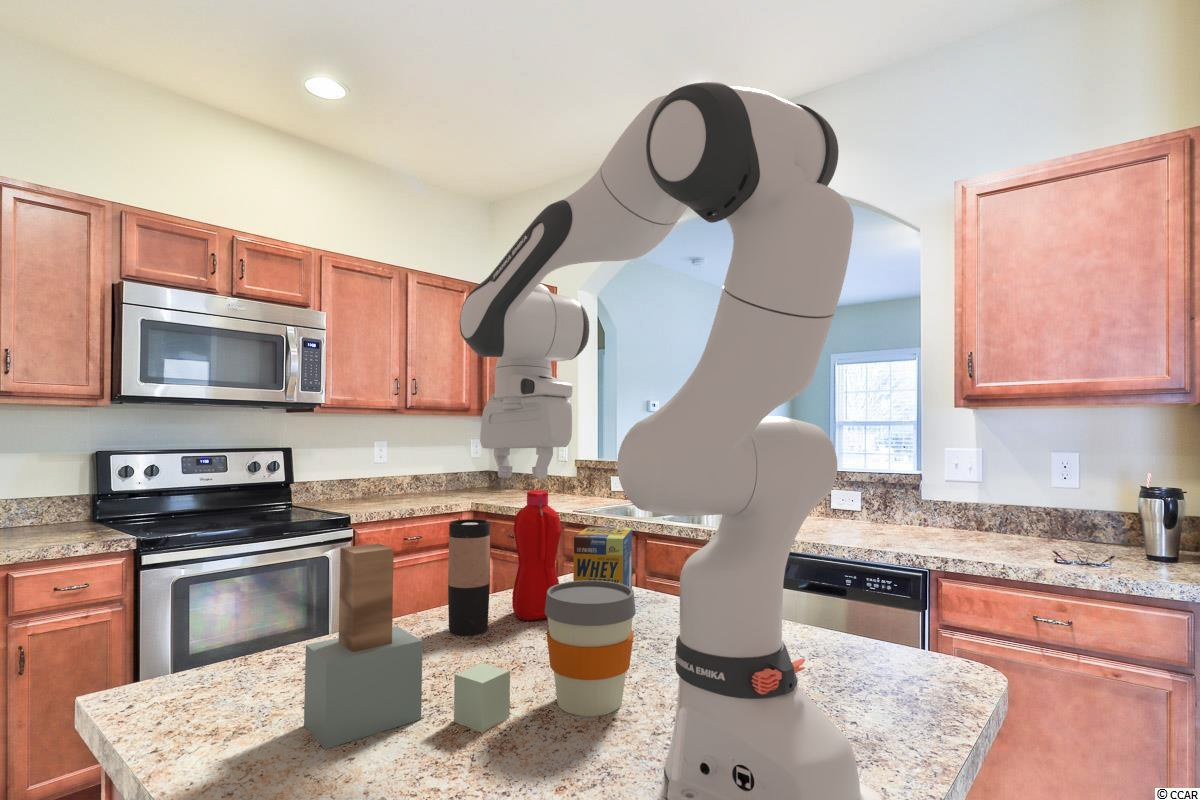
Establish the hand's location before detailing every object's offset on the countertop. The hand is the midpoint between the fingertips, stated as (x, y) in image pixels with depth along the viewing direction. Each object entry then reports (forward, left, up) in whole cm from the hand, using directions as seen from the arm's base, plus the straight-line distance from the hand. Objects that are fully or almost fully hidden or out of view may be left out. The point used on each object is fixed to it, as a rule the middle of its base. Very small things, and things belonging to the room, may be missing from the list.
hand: (521, 478), depth 99 cm
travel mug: (+25, -5, -30) cm, 40 cm away
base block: (0, +24, -30) cm, 38 cm away
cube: (-9, +12, -30) cm, 33 cm away
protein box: (+22, -36, -30) cm, 52 cm away
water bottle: (+24, -20, -30) cm, 44 cm away
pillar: (0, +24, -20) cm, 31 cm away
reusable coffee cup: (-14, -2, -30) cm, 33 cm away
